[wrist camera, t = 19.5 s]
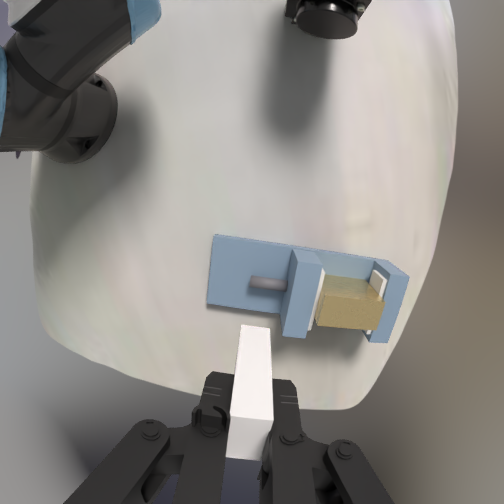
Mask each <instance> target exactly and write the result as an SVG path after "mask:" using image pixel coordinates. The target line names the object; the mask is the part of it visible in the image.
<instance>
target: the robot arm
mask: <svg viewBox="0 0 504 504" xmlns="http://www.w3.org/2000/svg"><path fill="white" fill-rule="evenodd" d="M3 1H4V2H6V3H7V4H8V6H9V14H8V25H9V26H10V27H12V28H13V29H15V30H16V33H15V34H14V35H13V36H12V37H11V38H10V40H9V41H8V42H7V43H6V44H5V45H4V47H2V46H0V152H9V151H11V152H12V151H39V152H41V153H43V154H44V155H46V156H48V157H49V158H51V159H53V160H54V161H57V162H60V163H78V162H82V161H84V160H87V159H88V158H90V157H92V156H93V155H94V154H95V153H97V152H98V151H99V150H100V149H101V147H102V146H103V145H104V144H105V142H106V141H107V139H108V137H109V136H110V134H111V131H112V129H113V127H114V124H115V120H116V115H117V97H116V93H115V90H114V88H113V86H112V85H111V83H110V82H109V81H108V80H107V79H105V78H104V77H102V76H100V75H98V74H96V73H95V72H96V71H97V70H98V69H99V68H100V67H101V66H103V65H104V64H105V63H106V62H107V61H109V60H110V59H111V58H112V57H114V56H115V55H116V54H117V53H119V52H120V51H121V50H123V49H124V48H125V47H127V46H128V45H129V44H130V45H132V44H133V43H134V42H135V41H136V39H137V38H138V37H140V36H141V35H142V34H143V33H145V32H146V31H148V30H149V29H150V28H152V27H153V26H154V25H155V24H156V23H157V22H158V21H159V19H160V17H161V5H160V1H159V0H3ZM226 457H231V458H240V459H250V460H261V458H262V466H261V469H260V472H259V475H258V478H257V480H260V491H259V504H394V502H393V501H392V499H391V497H390V496H389V495H388V493H387V491H386V489H385V488H384V486H383V485H382V483H381V481H380V480H379V478H378V477H377V475H376V474H375V472H374V470H373V469H372V467H371V465H370V464H369V462H368V461H367V459H366V457H365V456H364V454H363V453H362V451H361V449H360V448H359V447H358V446H357V445H356V444H355V443H353V442H352V441H349V440H336V441H334V442H332V443H331V444H330V445H327V444H323V443H319V442H316V441H313V440H311V439H310V438H308V437H307V436H306V434H305V433H304V432H303V431H302V428H301V421H300V412H299V405H298V398H297V391H296V387H295V386H294V384H293V383H292V382H291V380H281V379H272V366H271V343H270V328H263V327H255V326H248V325H241V331H240V338H239V345H238V352H237V358H236V365H235V372H234V374H227V373H220V372H214V371H212V372H211V373H210V374H209V375H208V376H207V377H206V381H205V384H204V388H203V392H202V396H201V400H200V404H199V405H198V406H196V407H195V408H194V409H193V411H192V423H191V424H189V425H187V426H184V427H179V428H167V427H166V426H165V425H164V424H163V423H161V422H159V421H156V420H149V419H147V420H142V421H140V422H138V423H137V424H135V425H134V426H133V428H132V429H131V430H130V431H129V432H128V433H127V434H126V435H125V437H124V438H123V439H122V440H121V441H120V442H119V443H118V444H117V446H116V447H115V448H114V449H113V450H112V451H111V452H110V453H109V454H108V456H107V457H106V458H105V459H104V460H103V461H102V462H101V463H100V464H99V465H98V467H97V468H96V469H95V470H94V471H93V472H92V473H91V474H90V475H89V476H88V478H87V479H86V480H85V481H84V482H83V483H82V484H81V485H80V486H79V487H78V488H77V489H76V490H75V492H74V493H73V494H72V495H71V496H70V497H69V498H68V499H67V500H66V501H65V502H64V503H63V504H152V503H153V501H154V500H155V499H156V497H157V495H158V494H159V493H160V491H161V490H162V488H163V486H164V485H165V484H166V482H167V480H168V479H169V477H170V476H171V474H179V478H178V482H177V486H176V491H175V494H174V498H173V502H172V504H220V499H221V490H222V483H223V474H224V466H225V458H226Z"/></svg>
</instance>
